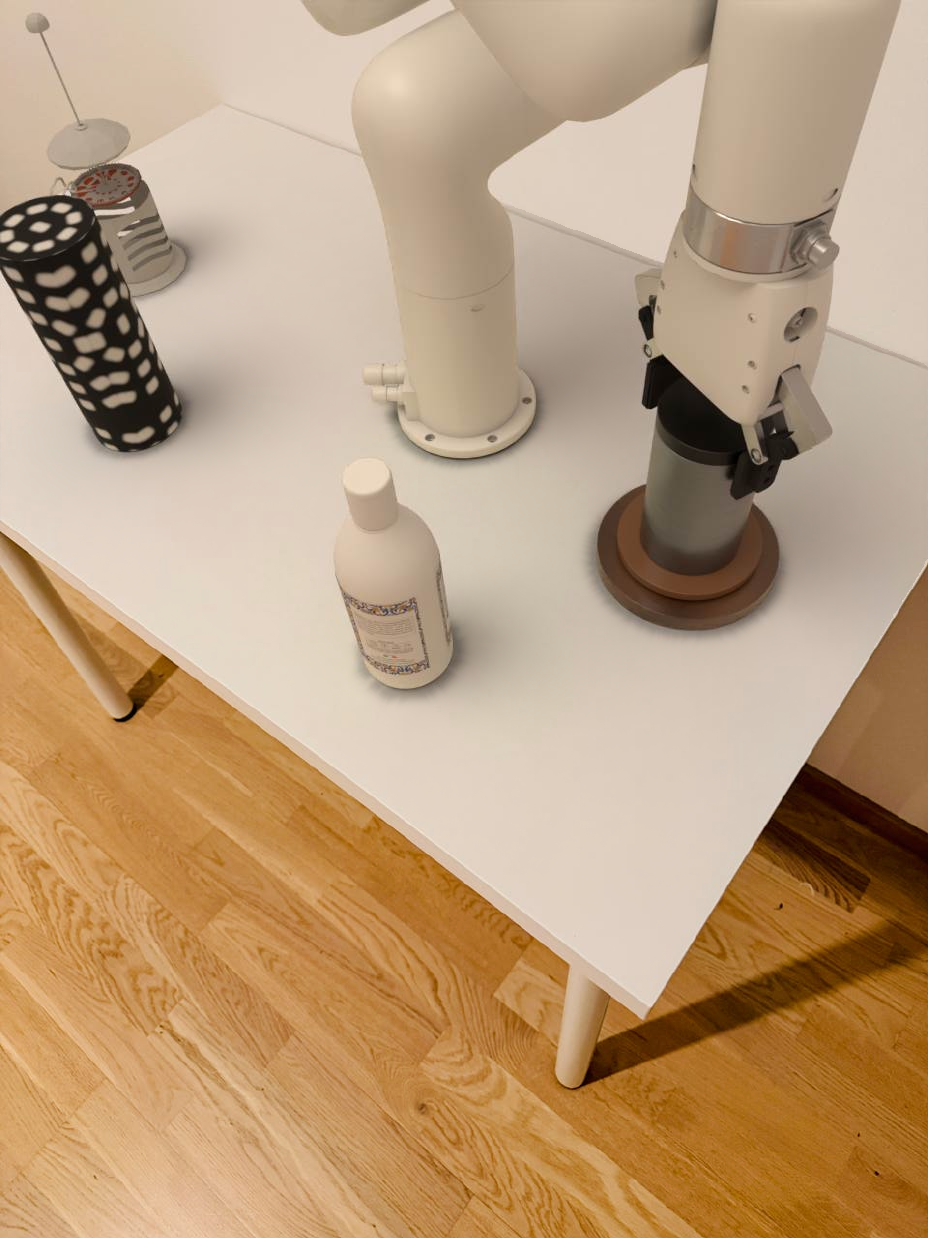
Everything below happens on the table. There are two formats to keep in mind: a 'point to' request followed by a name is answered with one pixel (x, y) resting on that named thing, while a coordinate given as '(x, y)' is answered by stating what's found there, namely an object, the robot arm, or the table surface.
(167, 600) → the table surface
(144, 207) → the french press
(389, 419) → the table surface
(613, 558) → the turntable base
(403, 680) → the bath foam
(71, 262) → the spotted tube
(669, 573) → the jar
